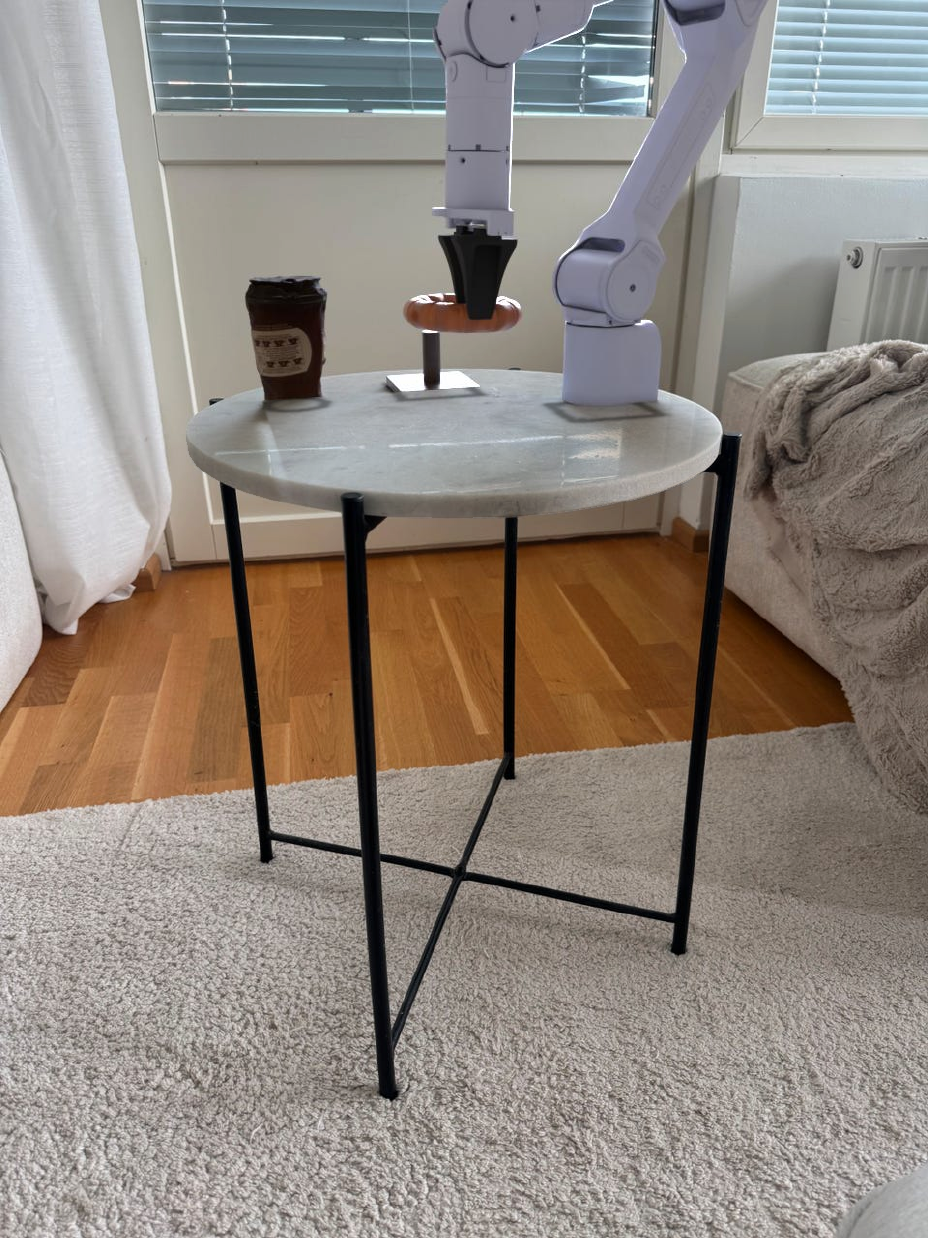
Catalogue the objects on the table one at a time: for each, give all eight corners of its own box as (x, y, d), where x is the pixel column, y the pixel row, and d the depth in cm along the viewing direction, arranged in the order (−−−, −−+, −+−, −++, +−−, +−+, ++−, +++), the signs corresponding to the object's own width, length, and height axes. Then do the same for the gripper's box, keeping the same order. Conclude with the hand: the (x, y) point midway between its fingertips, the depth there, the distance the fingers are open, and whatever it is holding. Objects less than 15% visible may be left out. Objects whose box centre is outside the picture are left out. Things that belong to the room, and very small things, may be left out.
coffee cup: (317, 415, 94) (307, 281, 89) (242, 412, 96) (227, 280, 90) (344, 397, 102) (336, 273, 96) (274, 394, 104) (262, 272, 98)
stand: (459, 379, 110) (459, 323, 107) (480, 395, 102) (480, 335, 100) (386, 384, 108) (383, 327, 105) (402, 400, 100) (399, 339, 98)
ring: (499, 317, 95) (500, 291, 94) (535, 333, 86) (537, 304, 84) (394, 320, 92) (393, 292, 91) (419, 336, 83) (419, 306, 82)
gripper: (414, 153, 84) (415, 308, 90) (456, 148, 72) (454, 328, 77) (487, 155, 86) (483, 307, 92) (540, 150, 73) (532, 326, 79)
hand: (475, 316), depth 85 cm, fingers closed on ring, 3 cm apart
